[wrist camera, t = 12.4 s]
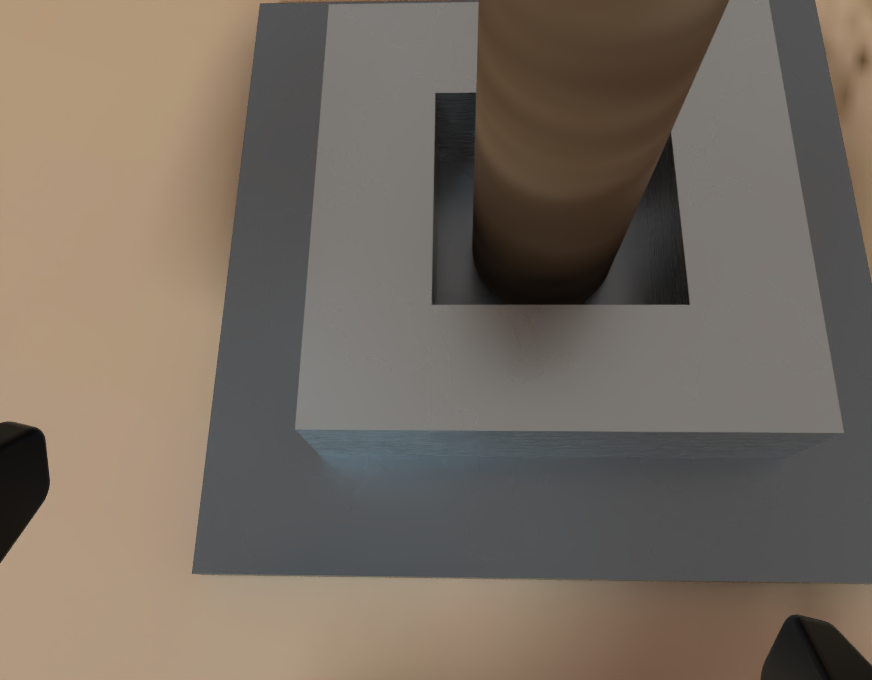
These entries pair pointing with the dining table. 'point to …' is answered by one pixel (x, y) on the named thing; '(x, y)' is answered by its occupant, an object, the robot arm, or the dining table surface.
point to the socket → (537, 329)
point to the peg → (573, 132)
